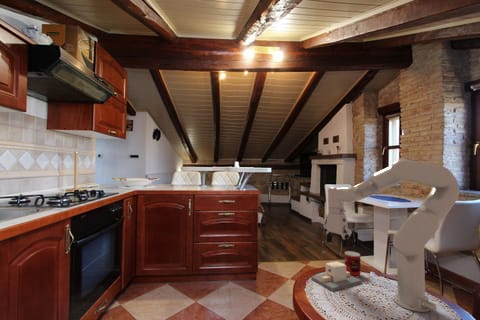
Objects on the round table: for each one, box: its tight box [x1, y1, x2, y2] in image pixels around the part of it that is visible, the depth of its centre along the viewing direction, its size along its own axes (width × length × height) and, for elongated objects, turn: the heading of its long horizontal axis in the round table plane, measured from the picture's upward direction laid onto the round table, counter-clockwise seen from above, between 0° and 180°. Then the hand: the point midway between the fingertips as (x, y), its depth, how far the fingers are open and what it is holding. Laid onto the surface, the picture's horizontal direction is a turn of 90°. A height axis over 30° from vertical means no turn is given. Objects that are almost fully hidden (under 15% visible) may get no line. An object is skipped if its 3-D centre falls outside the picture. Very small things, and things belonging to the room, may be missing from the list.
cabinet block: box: [325, 260, 346, 282], centre depth 121 cm, size 6×9×7 cm
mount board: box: [310, 271, 363, 292], centre depth 121 cm, size 14×20×3 cm
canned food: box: [344, 250, 362, 277], centre depth 131 cm, size 8×8×11 cm
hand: (337, 244), depth 122 cm, fingers open, 9 cm apart
